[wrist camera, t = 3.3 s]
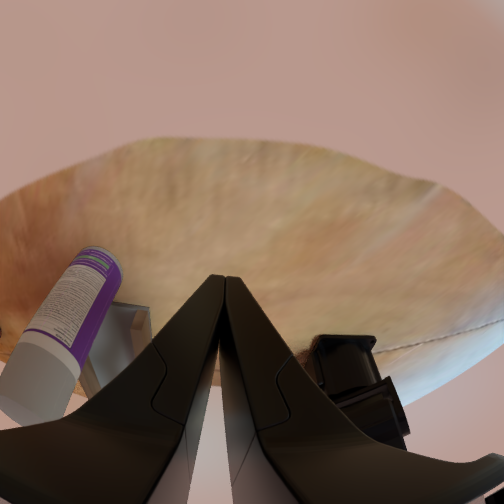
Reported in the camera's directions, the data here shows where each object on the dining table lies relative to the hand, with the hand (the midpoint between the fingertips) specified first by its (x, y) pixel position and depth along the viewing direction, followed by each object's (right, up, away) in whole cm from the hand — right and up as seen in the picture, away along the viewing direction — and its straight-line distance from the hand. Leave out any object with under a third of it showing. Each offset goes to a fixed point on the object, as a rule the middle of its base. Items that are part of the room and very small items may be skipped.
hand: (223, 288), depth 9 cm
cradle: (-14, -10, +21) cm, 27 cm away
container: (-12, 0, +15) cm, 20 cm away
